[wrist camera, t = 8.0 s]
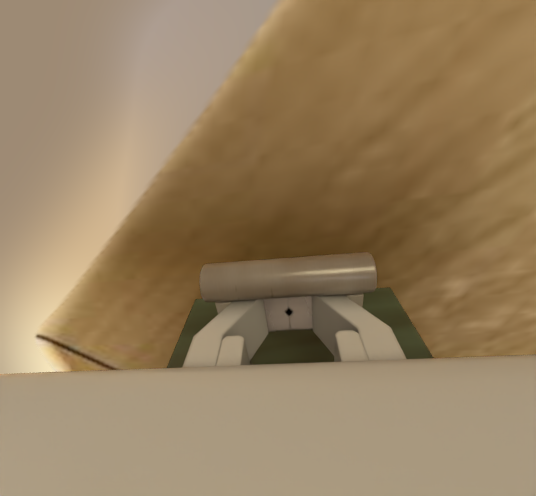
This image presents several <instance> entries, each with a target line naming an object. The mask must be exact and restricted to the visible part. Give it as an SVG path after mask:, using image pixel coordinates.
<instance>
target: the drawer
mask: <svg viewBox="0 0 536 496" xmlns="http://www.w3.org/2000/svg"><path fill="white" fill-rule="evenodd" d="M376 285H377V270H376V265H375V262H374V259H373V257H372V255H371V254H370V253H369V252H360V253H346V254H333V255H319V256H305V257H292V258H278V259H264V260H250V261H237V262H223V263H209V264H204V265H203V267H202V269H201V272H200V292H201V296H202V298H203V299H196V300H195V302H194V304H193V307H192V309H191V311H190V314H189V316H188V318H187V321H186V323H185V326H184V328H183V330H182V333H181V335H180V337H179V340H178V342H177V345H176V347H175V349H174V352H173V354H172V356H171V359H170V361H169V364H168V366H167V368H182V367H183V364H184V361H185V359H186V356H187V353H188V350H189V348H190V345H191V342H192V339H193V337H194V336H195V335H196V334H197V333H198V332H199V331H200V330H201V329H202V328H203V327H205V326H206V325H207V324H208V323H209V322H210V321H211V320H212V319H214V318H215V317H216V316H217V315H218V314H219V313H220V312H221V311H223V310H224V309H225V308H226V307H227V306H228V305H229V304H230V303H231V302H233V301H240V300H257V299H274V298H291V297H308V296H325V295H342V294H343V295H345V296H346V297H348V298H349V299H351V300H352V301H353V302H355V303H356V304H358V305H359V306H361V307H362V308H364V309H365V310H366V311H368V312H369V313H371V314H372V315H374V316H375V317H376V318H378V319H379V320H381V321H382V322H384V323H385V324H387V325H388V326H389V327H391V329H392V331H393V333H394V335H395V337H396V339H397V341H398V343H399V345H400V347H401V349H402V351H403V353H404V355H405V357H406V359H427V358H433V357H432V355H431V353H430V352H429V350H428V348H427V347H426V345H425V343H424V342H423V340H422V339H421V337H420V335H419V334H418V332H417V330H416V329H415V327H414V326H413V324H412V322H411V321H410V319H409V317H408V316H407V314H406V312H405V311H404V309H403V308H402V306H401V304H400V303H399V301H398V299H397V298H396V296H395V294H394V293H393V291H392V290H391V288H376ZM317 362H334V355H333V354H332V353H331V352H330V350H329V349H328V348H327V347H326V346H325V345H324V343H323V342H322V341H321V340H320V339H319V337H318V336H317V335H316V334H315V333H314V332H313V330H288V331H275V332H268V335H267V336H266V338H265V339H264V341H263V342H262V344H261V345H260V347H259V348H258V350H257V351H256V353H255V354H254V356H253V357H252V359H251V360H250V365H261V364H289V363H317Z"/></svg>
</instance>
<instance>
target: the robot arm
mask: <svg viewBox="0 0 536 496" xmlns="http://www.w3.org/2000/svg"><path fill="white" fill-rule="evenodd" d="M288 330H313V332H314V333H315V334H316V335H317V336H318V337H319V339H320V340H321V341H322V342H323V343H324V345H325V346H326V347H327V348H328V349H329V350H330V352H331V353H332V354H333V355H334V362H317V363H289V364H261V365H250V360H251V359H252V357H253V356H254V354H255V353H256V351H257V350H258V348H259V347H260V345H261V344H262V342H263V341H264V339H265V338H266V336H267V335H268V332H275V331H288ZM0 496H536V355H509V356H482V357H455V358H427V359H406V357H405V355H404V353H403V351H402V349H401V347H400V345H399V343H398V341H397V339H396V337H395V335H394V333H393V331H392V329H391V327H389V326H388V325H387V324H385V323H384V322H382V321H381V320H379V319H378V318H376V317H375V316H374V315H372V314H371V313H369V312H368V311H366V310H365V309H364V308H362V307H361V306H359V305H358V304H356V303H355V302H353V301H352V300H351V299H349V298H348V297H346V296H345V295H343V294H342V295H325V296H308V297H291V298H274V299H257V300H240V301H233V302H231V303H230V304H229V305H228V306H227V307H226V308H225V309H224V310H223V311H221V312H220V313H219V314H218V315H217V316H216V317H215V318H214V319H212V320H211V321H210V322H209V323H208V324H207V325H206V326H205V327H203V328H202V329H201V330H200V331H199V332H198V333H197V334H196V335H195V336H194V337H193V339H192V342H191V345H190V348H189V350H188V353H187V356H186V359H185V361H184V364H183V367H182V368H154V369H125V370H98V371H70V372H45V373H44V372H43V373H17V374H0Z"/></svg>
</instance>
